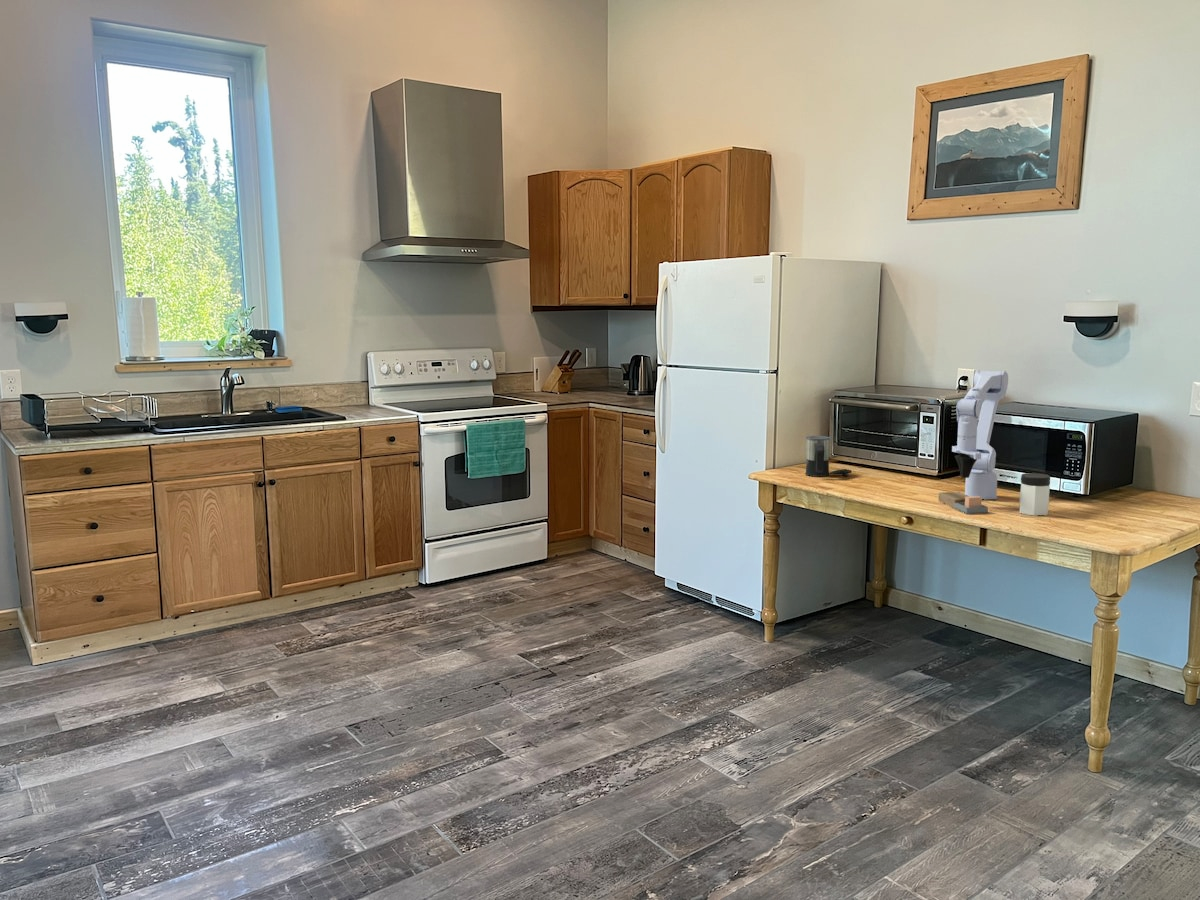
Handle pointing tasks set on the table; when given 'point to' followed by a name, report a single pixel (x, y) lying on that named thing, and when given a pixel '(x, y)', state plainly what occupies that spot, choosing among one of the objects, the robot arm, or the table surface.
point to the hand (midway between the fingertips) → (964, 477)
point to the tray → (970, 508)
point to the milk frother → (819, 457)
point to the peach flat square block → (973, 501)
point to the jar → (1034, 494)
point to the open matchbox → (952, 498)
